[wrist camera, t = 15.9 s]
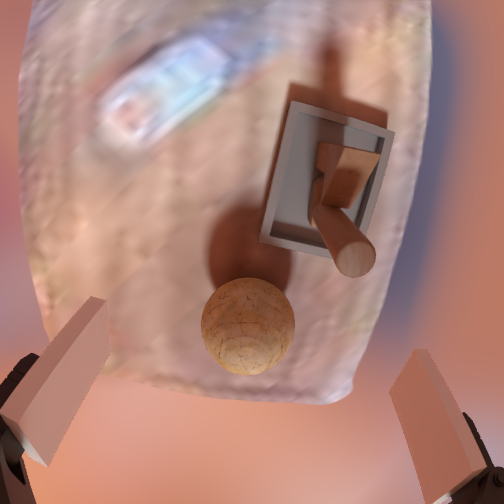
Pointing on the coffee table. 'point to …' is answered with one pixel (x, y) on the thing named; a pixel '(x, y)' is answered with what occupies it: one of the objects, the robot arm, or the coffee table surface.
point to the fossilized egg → (247, 325)
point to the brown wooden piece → (342, 205)
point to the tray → (317, 175)
